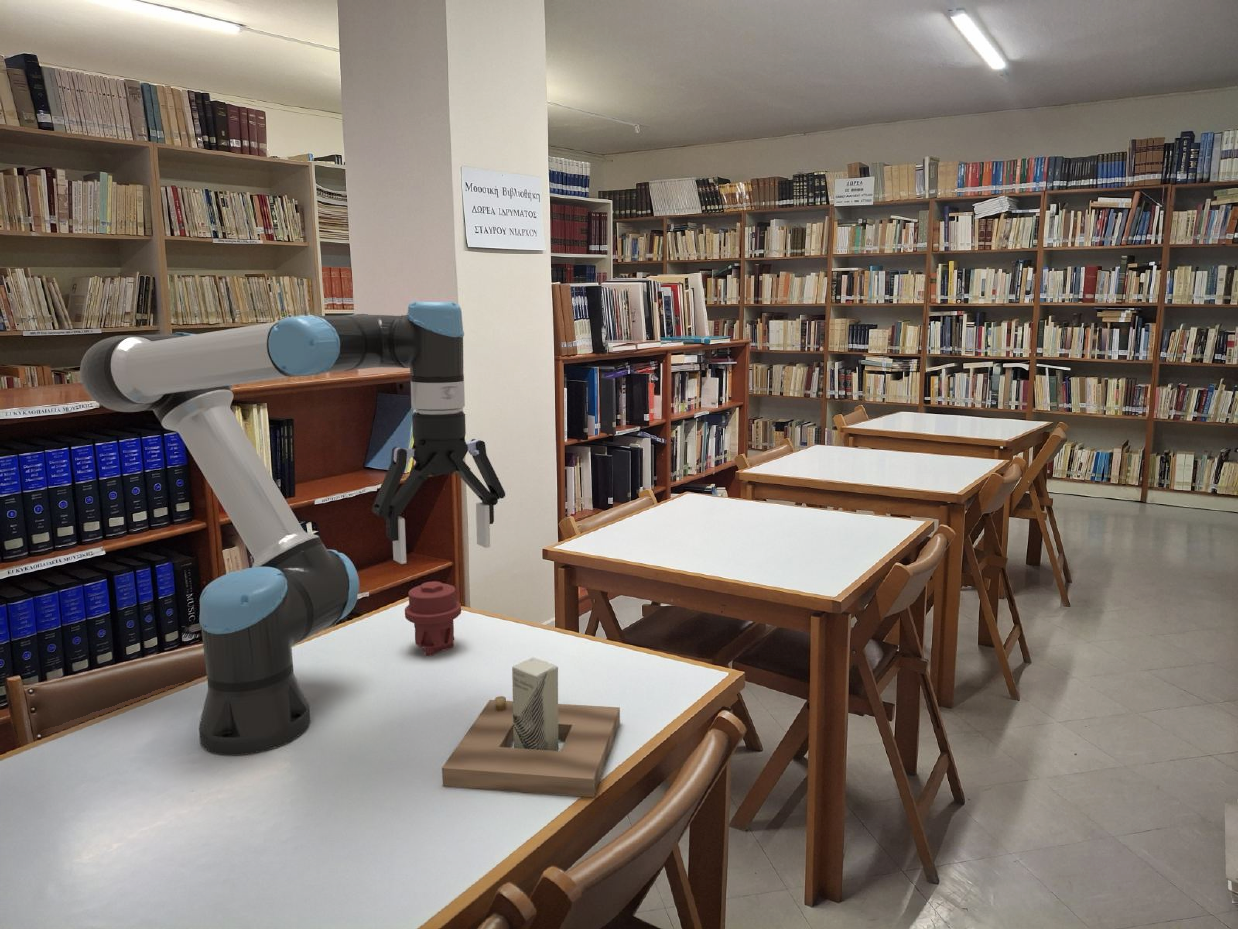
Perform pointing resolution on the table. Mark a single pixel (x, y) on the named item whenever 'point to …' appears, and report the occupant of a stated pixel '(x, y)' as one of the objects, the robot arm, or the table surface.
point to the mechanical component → (433, 615)
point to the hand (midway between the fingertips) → (443, 553)
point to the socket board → (534, 752)
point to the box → (535, 705)
